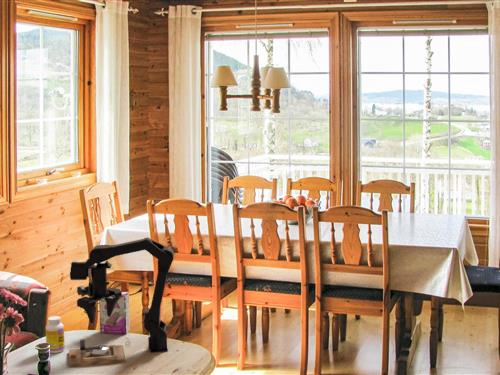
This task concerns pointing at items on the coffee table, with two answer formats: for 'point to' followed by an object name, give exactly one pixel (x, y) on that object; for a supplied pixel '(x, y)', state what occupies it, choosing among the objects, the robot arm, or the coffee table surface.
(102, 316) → the candy bar box
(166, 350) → the robot arm
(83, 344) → the crank wheel
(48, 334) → the supplement bottle
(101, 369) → the coffee table surface
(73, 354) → the board
